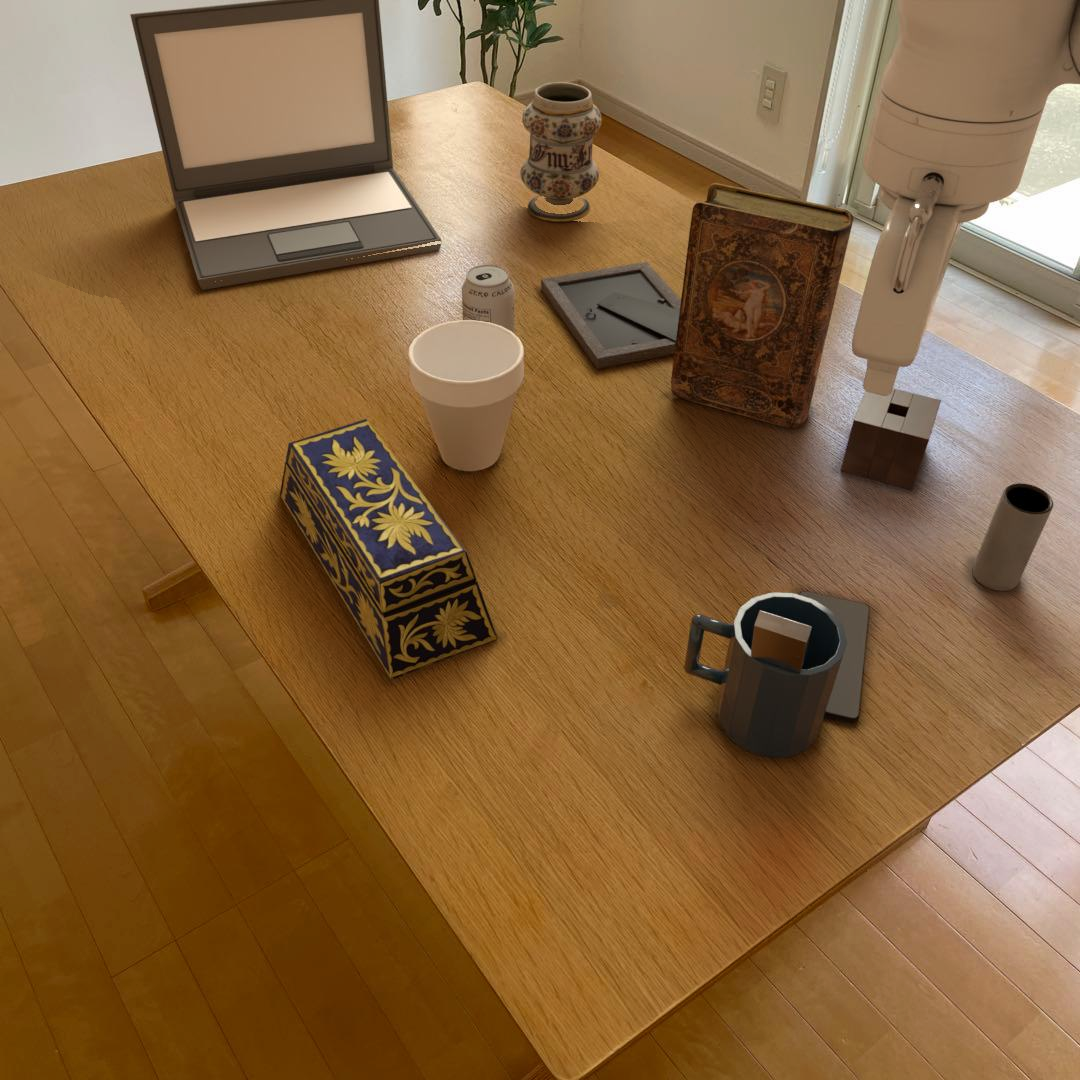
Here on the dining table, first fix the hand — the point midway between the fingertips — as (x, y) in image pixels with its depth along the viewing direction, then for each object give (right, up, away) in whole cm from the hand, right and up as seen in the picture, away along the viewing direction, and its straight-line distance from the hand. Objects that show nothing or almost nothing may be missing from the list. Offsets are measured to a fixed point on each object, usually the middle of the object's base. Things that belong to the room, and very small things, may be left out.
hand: (891, 351), depth 70 cm
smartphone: (+3, -24, +29) cm, 38 cm away
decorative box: (-39, -15, +37) cm, 56 cm away
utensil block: (+16, -3, +50) cm, 53 cm away
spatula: (-3, -28, +23) cm, 36 cm away
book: (+1, +4, +58) cm, 58 cm away
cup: (-31, -3, +50) cm, 59 cm away
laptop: (-59, +35, +90) cm, 113 cm away
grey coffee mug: (-5, -28, +24) cm, 37 cm away
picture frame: (-12, +17, +72) cm, 75 cm away
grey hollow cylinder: (+23, -16, +37) cm, 46 cm away
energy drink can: (-29, +6, +60) cm, 67 cm away
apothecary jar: (-20, +39, +96) cm, 106 cm away
